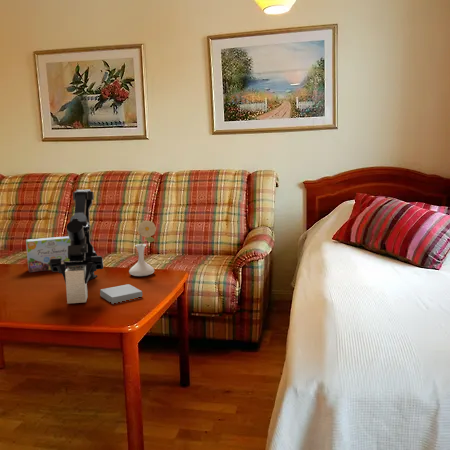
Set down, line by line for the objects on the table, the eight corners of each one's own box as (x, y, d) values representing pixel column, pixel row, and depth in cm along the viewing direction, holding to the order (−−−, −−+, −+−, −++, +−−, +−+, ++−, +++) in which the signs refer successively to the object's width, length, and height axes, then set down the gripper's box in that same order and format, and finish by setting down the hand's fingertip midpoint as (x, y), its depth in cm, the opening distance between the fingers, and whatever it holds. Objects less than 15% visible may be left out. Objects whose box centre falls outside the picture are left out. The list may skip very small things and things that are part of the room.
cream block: (69, 297, 166) (67, 266, 164) (87, 296, 167) (85, 265, 165) (67, 303, 160) (65, 271, 158) (85, 302, 161) (83, 270, 159)
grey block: (100, 297, 171) (99, 289, 171) (129, 291, 178) (128, 284, 178) (112, 305, 162) (112, 297, 161) (142, 298, 169) (142, 291, 168)
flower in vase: (126, 278, 195) (123, 222, 191) (132, 271, 206) (130, 218, 203) (155, 278, 195) (153, 222, 191) (160, 271, 206) (158, 218, 202)
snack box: (29, 273, 206) (26, 241, 204) (28, 270, 211) (25, 239, 209) (76, 267, 216) (74, 236, 213) (74, 264, 221) (72, 235, 218)
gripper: (48, 237, 162) (44, 274, 153) (101, 234, 165) (100, 271, 156) (53, 253, 171) (50, 289, 162) (103, 250, 174) (103, 286, 165)
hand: (76, 283), depth 161 cm, fingers closed on cream block, 6 cm apart
